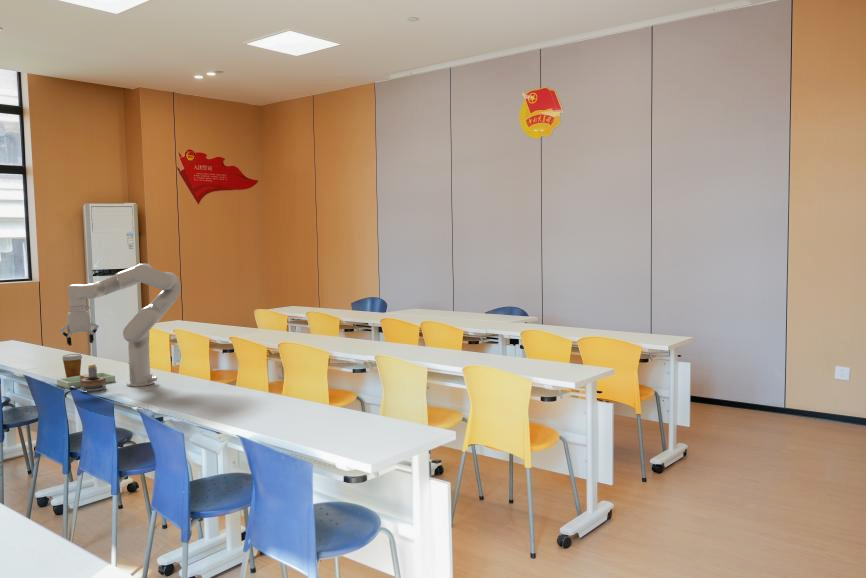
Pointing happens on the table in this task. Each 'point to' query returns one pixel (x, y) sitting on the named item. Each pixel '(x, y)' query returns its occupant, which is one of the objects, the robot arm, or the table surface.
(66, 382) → the tray
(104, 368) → the table surface
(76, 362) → the disposable coffee cup
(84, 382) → the ring
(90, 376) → the post
